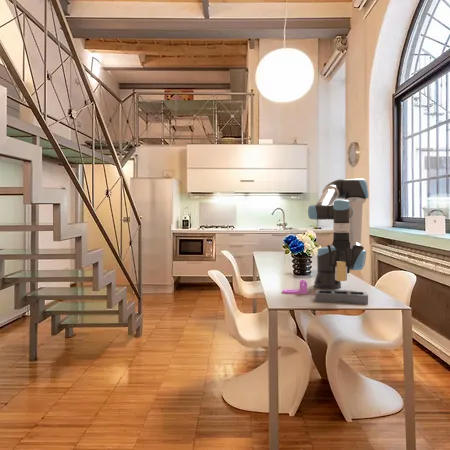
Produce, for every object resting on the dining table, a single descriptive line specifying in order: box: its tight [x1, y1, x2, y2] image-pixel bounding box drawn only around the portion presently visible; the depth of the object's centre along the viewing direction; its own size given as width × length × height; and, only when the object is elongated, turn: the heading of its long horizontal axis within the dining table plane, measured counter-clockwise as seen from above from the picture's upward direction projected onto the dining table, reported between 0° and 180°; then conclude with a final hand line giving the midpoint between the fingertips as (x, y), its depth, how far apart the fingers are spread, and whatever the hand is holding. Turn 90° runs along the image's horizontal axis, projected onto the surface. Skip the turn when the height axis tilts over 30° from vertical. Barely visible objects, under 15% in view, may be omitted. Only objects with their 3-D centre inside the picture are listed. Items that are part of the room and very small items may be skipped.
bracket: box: [281, 279, 308, 295], centre depth 212 cm, size 13×6×7 cm, turn 82°
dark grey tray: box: [315, 289, 369, 305], centre depth 193 cm, size 9×24×4 cm, turn 78°
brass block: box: [337, 261, 346, 282], centre depth 193 cm, size 4×4×9 cm
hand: (340, 279), depth 193 cm, fingers closed on brass block, 4 cm apart
